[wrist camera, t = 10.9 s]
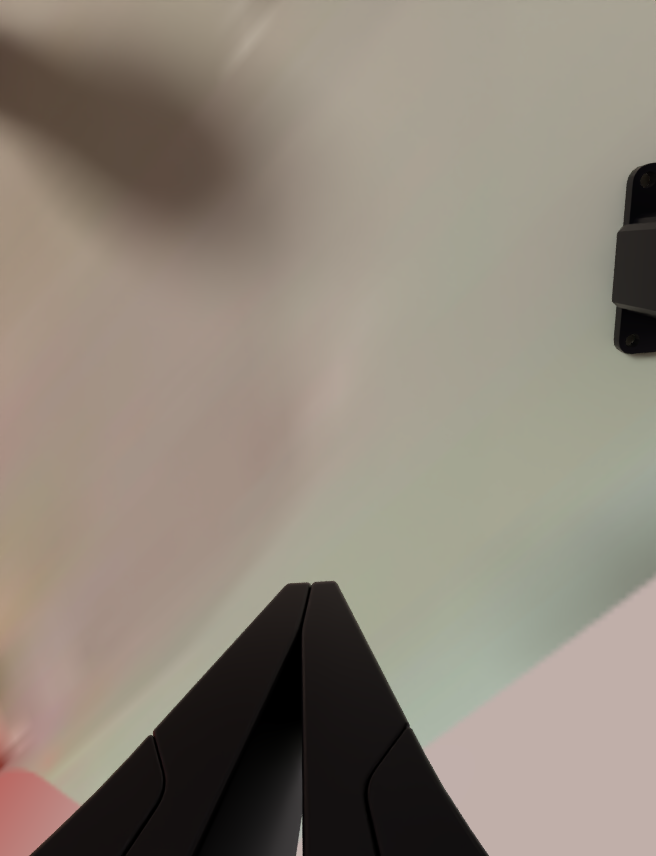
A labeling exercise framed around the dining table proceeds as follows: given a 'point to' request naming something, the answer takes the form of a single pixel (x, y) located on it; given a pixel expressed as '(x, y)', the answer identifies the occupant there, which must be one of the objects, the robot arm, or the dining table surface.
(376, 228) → the dining table surface
